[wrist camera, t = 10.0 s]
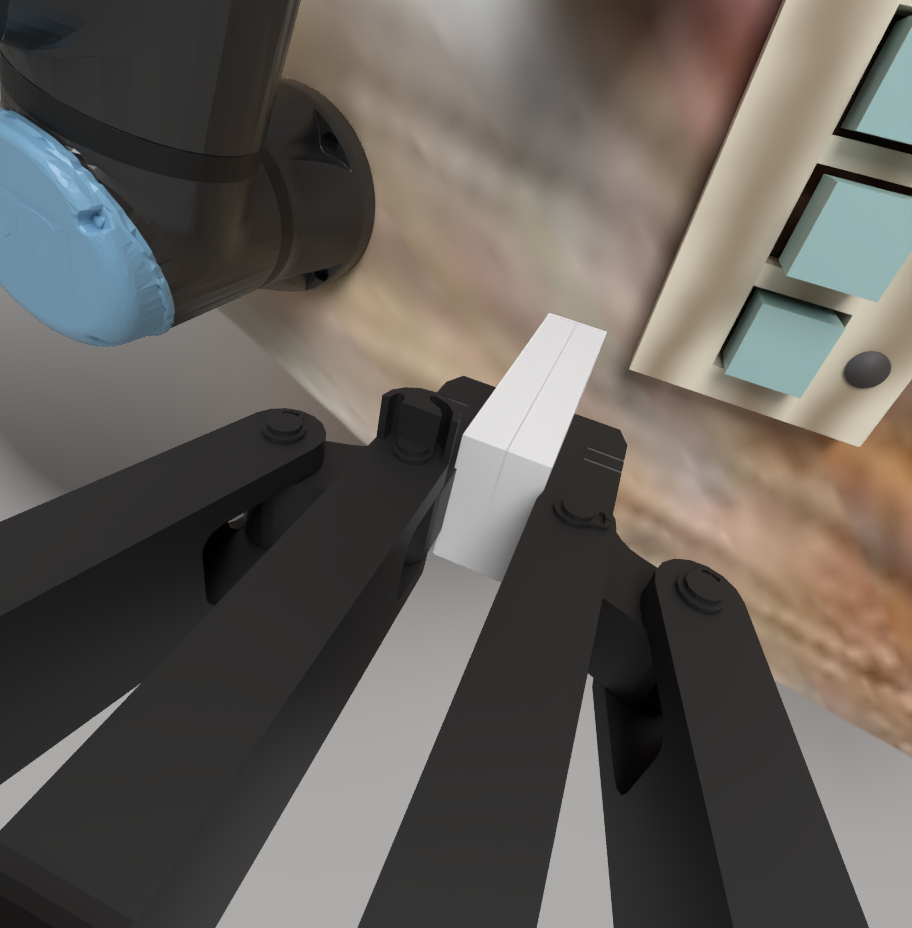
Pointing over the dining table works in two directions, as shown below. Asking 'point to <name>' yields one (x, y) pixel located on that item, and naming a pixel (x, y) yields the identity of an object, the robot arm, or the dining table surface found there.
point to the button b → (850, 238)
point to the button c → (887, 90)
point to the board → (763, 218)
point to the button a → (781, 342)
